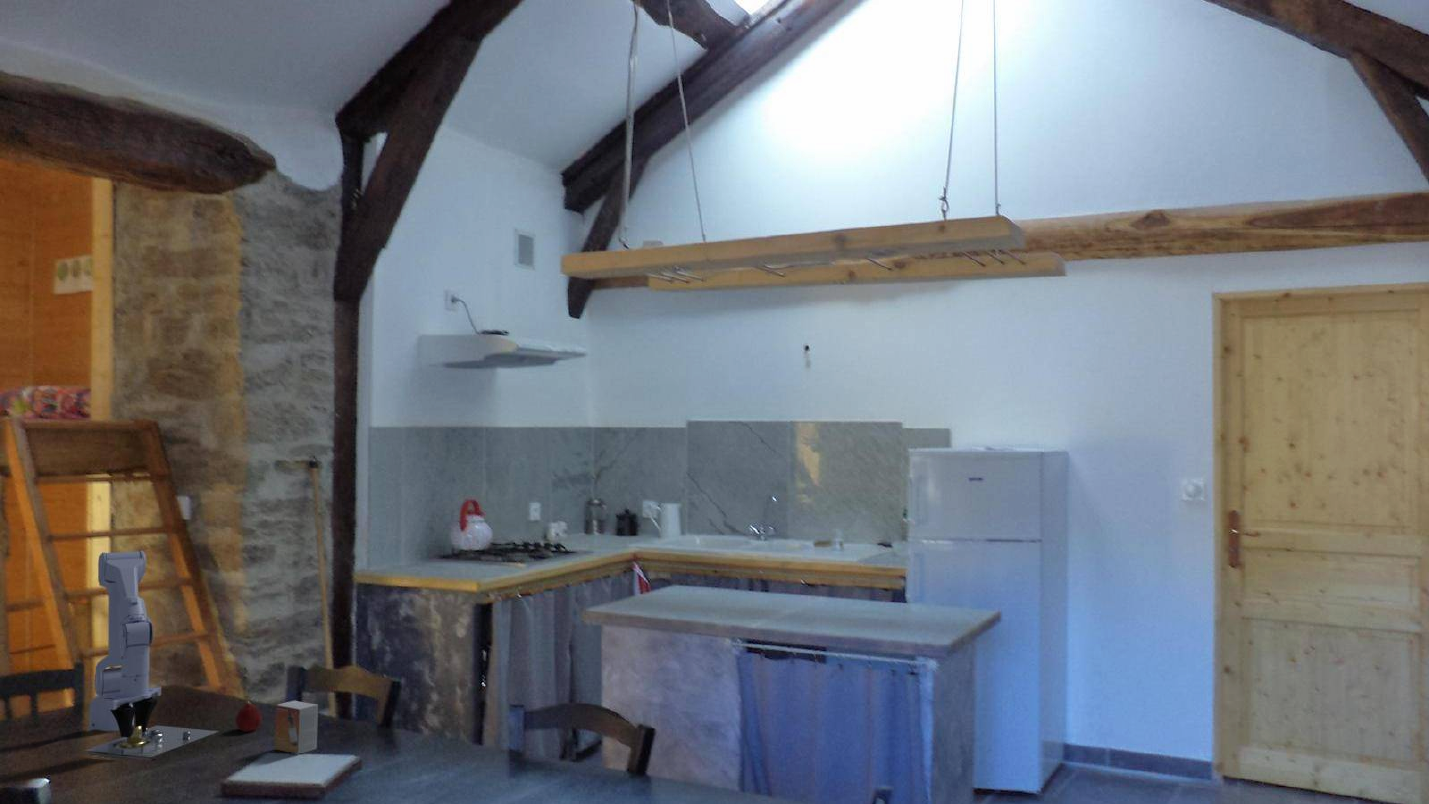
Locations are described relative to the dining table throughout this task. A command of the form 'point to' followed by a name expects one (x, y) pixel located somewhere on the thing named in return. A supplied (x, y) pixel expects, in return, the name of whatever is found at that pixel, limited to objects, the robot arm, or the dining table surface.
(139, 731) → the gear
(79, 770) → the dining table surface
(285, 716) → the small box
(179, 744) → the carrier plate
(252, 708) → the onion
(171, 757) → the dining table surface
